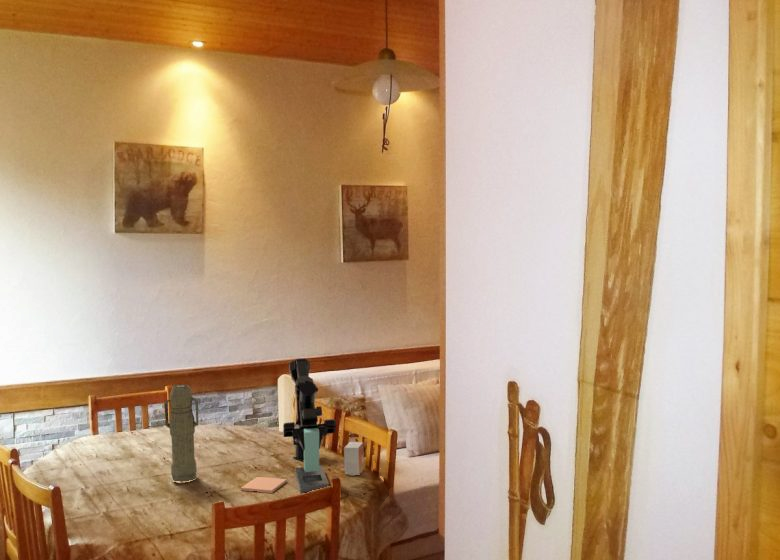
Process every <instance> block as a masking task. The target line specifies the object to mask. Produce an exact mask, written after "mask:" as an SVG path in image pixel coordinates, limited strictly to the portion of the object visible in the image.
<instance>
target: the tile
mask: <svg viewBox="0 0 780 560" xmlns="http://www.w3.org/2000/svg"><path fill="white" fill-rule="evenodd" d="M287 482H288V479H286V478H278V477H277V478H276V477H275V478H274V477H267V476H266V477H265V476H263V477H262V476H256V477H255V478H253V479H251V480H250V481H248V482H247V483H245V484H244V485H242V486H241V487H240V491H241V490H243V491H242V492H244V491H245V492H253V491H257V492H256V493H263V494H264V493H268V494H273V493H274V492H275V491H277V490H278V489H280V488H281V487H282V486H283V485H285V484H286V483H287Z"/></svg>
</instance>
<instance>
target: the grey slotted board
mask: <svg viewBox="0 0 780 560" xmlns="http://www.w3.org/2000/svg"><path fill="white" fill-rule="evenodd" d="M294 474H295V475H294V476H295V479H296V482H297V486H298V490H299V493H300V494H304V493H305V492H309V491H312V490H316V489H320V488H324V487H327V486H329V487H330V482H329V479H328V478H327V476H326V475H327V474H326V473H325V470H324V468H323V466H322V465H319V471H312V472H305V470H304V466H303V467H295V468H294ZM309 493H310V492H309ZM305 494H306V493H305Z"/></svg>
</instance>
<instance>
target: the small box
mask: <svg viewBox="0 0 780 560" xmlns="http://www.w3.org/2000/svg"><path fill="white" fill-rule="evenodd" d="M343 453H344V454H343V455H344V456H343V458H344V461H343V462H344V475H345V474H350V475H349V476H355V475H359V476H360V475H361V474H362V473H363V472H364V470H365V463H364V461H365V460H364V458H365V456H364V442H363V441H360V442H358V441H349V442H348V443H347V444H346V445H345V446H344V447H343ZM363 469H364V470H363ZM360 473H361V474H360Z"/></svg>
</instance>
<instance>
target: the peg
mask: <svg viewBox="0 0 780 560" xmlns="http://www.w3.org/2000/svg"><path fill="white" fill-rule="evenodd" d="M304 446H305V450H304V461H303V467H304V470H305V472H312V471H319V466H320V449H319V430H318V428H311V429H304Z"/></svg>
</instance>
